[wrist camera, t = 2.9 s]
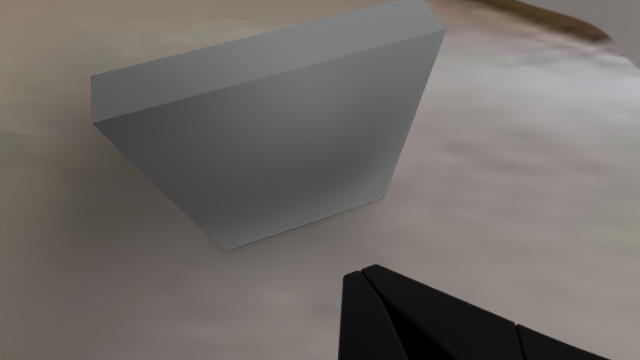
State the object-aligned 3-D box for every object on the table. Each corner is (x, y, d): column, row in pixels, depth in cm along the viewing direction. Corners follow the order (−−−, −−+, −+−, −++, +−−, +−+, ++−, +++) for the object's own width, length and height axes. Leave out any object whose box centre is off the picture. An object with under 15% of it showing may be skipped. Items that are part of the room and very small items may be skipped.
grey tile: (383, 198, 20) (446, 28, 10) (225, 251, 19) (92, 123, 8) (370, 171, 21) (415, -11, 10) (218, 220, 20) (90, 69, 9)
